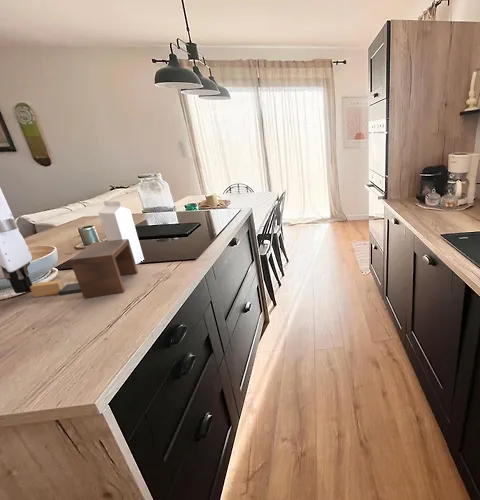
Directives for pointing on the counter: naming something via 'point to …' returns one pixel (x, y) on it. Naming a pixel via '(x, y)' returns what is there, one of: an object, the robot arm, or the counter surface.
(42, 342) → the counter surface
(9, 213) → the robot arm
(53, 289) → the fish slice
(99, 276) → the stand
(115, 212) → the milk
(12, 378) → the counter surface
